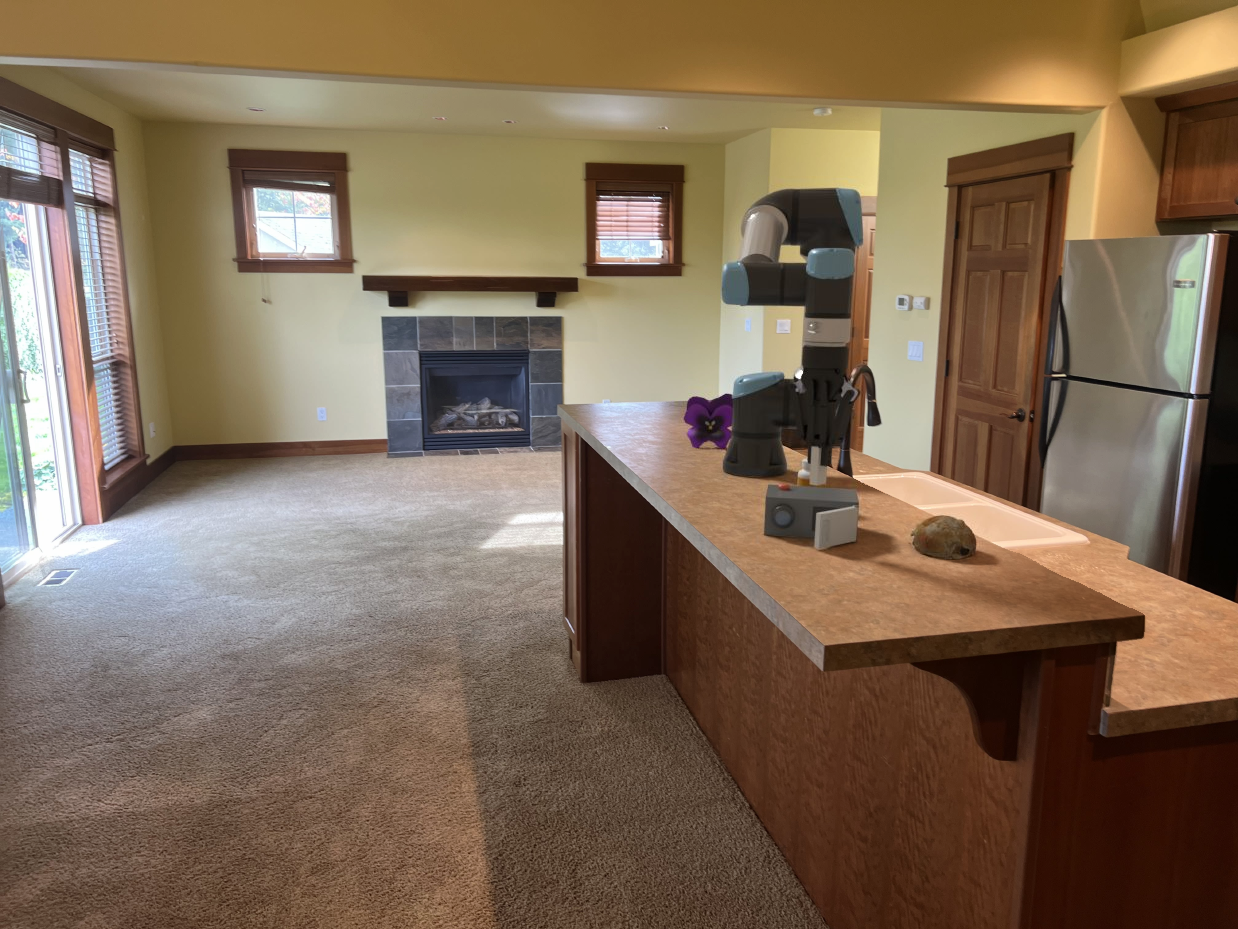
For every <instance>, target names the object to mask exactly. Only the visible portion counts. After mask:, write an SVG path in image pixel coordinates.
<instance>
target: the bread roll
mask: <svg viewBox="0 0 1238 929" xmlns="http://www.w3.org/2000/svg"><path fill="white" fill-rule="evenodd" d="M910 537H913V539H912V540H913V541H912V545H913V547H914V549H915V550H916V551H917V552H918V553H920V554H921V553H922V554H921V555H925V554H926V556H930V557H932V556H933V557H932V558H937V557H939V558H938V559H943V558H946V560H954V559H958V560H961V558H962V559H966V558H968V557H970V555H971V556H973V555H974V554H975V552H976V549H977V545H978V544H977V537H976V536H975V534H974V532H973V530H972V529H971V528H970V526H968V525H967V524H966V523H965V521H964V519H958V518H956V517H954V516H950V515H943V514H942V515H935V516H932V517H928V518H926V519H925V520H923V521H921V522H920V523H919V524H917V525H916V528H915V529H914V530H912V531H911V532H910ZM965 557H966V558H965ZM950 558H952V559H950Z"/></svg>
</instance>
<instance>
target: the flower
mask: <svg viewBox="0 0 1238 929" xmlns="http://www.w3.org/2000/svg"><path fill="white" fill-rule="evenodd" d="M732 395H733V393H728V392H727V393H724V394H721V395H720V396H718V397H716V398H713V399H711V401H709V399H706V398H705V397H702V396H691V397H689V399H688V400H687V403H686V411H685V414H684V416H683V421H684V423H685V424H687V425H689V426H691V427H689V428H688V430H687V432H686V436H687V437H688V439H689V441H690V443H691V446H692V448H695V449H699V448H700V447H701V446H702V445H703V444H705V443H706V442H711V443H713V444H714V445H715V446H717V448H718V449H719V450H724V449H726V448H727V447H728V445H729V443H730V440H731V431H732V429H730V428H732V409H733V398H732Z"/></svg>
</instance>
